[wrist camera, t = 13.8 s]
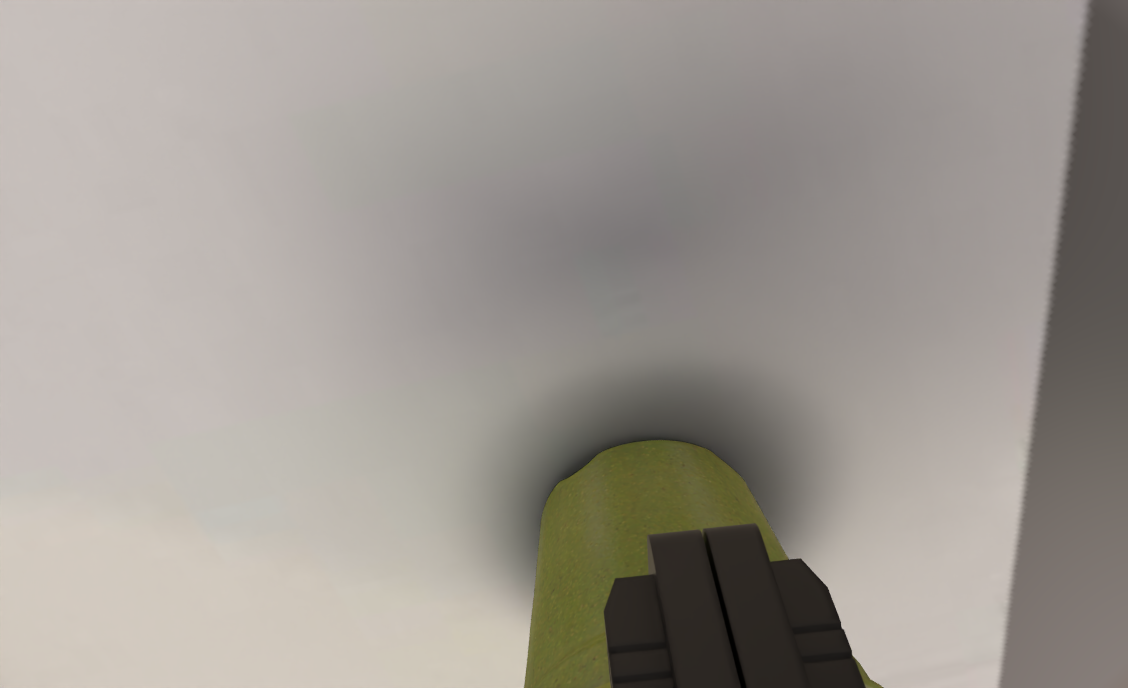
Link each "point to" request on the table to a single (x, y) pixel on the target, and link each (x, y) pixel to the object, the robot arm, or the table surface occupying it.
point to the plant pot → (621, 545)
